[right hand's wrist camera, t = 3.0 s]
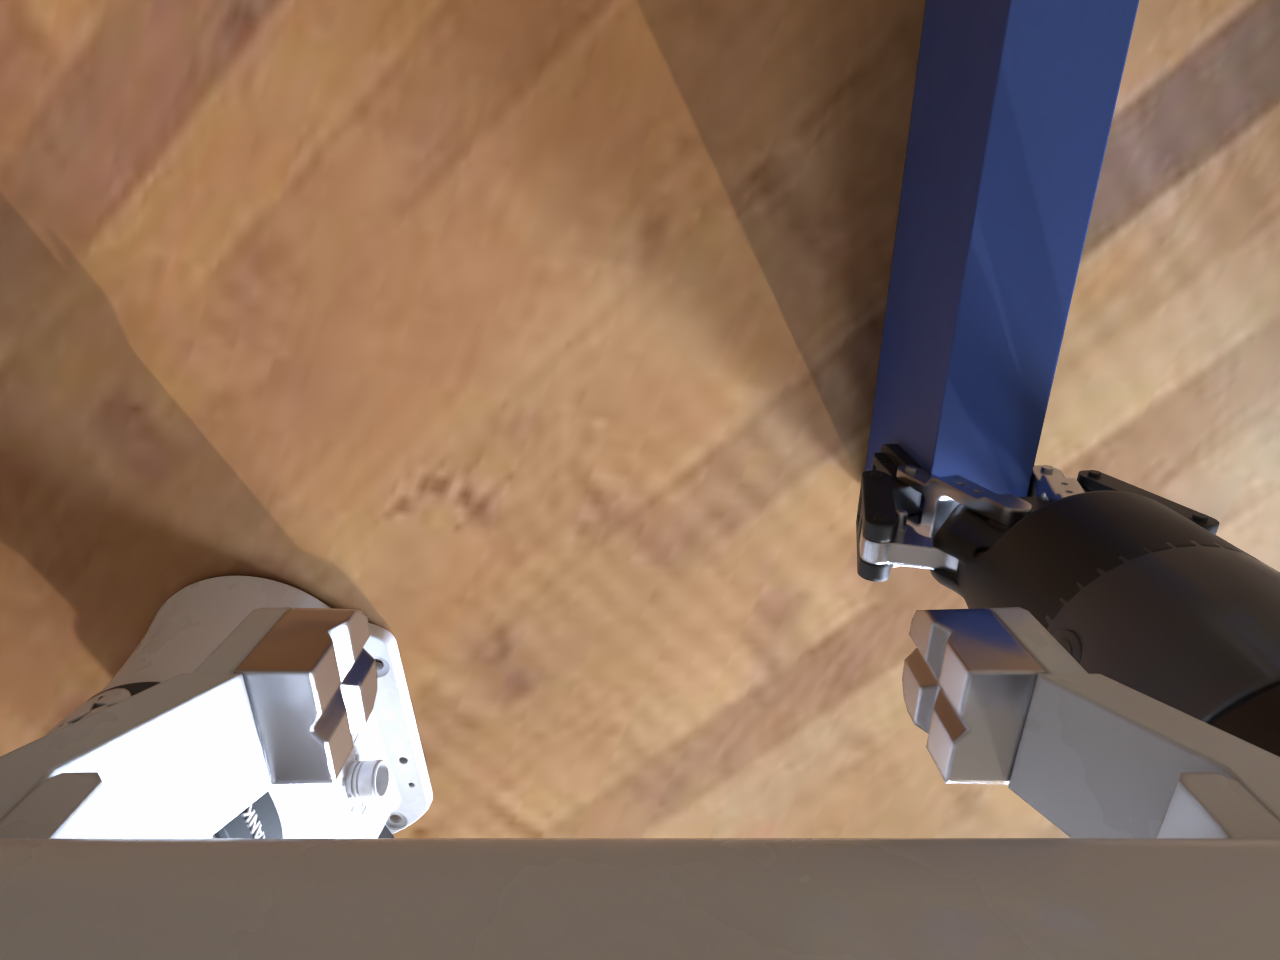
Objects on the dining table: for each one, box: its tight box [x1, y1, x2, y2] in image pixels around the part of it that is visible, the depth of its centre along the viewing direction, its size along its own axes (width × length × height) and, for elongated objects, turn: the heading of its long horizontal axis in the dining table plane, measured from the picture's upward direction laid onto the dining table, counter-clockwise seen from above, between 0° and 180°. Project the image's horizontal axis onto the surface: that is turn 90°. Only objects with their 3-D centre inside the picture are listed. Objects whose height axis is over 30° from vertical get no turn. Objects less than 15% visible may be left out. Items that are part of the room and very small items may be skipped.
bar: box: [865, 0, 1139, 511], centre depth 32 cm, size 26×5×9 cm, turn 0°
